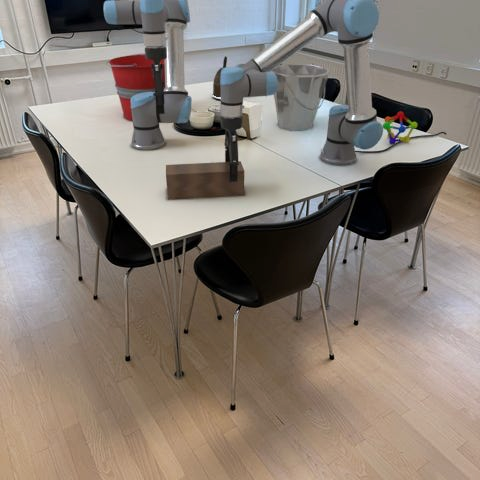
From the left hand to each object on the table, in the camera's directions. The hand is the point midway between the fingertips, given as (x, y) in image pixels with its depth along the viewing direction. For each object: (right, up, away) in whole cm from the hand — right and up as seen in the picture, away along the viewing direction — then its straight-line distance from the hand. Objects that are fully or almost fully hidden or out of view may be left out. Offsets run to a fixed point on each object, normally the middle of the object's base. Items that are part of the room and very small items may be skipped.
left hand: (160, 108), depth 164 cm
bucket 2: (+59, +12, +69) cm, 91 cm away
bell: (+21, +42, +117) cm, 126 cm away
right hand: (+26, -25, -2) cm, 36 cm away
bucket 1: (-23, +21, +83) cm, 89 cm away
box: (+17, -31, 0) cm, 35 cm away
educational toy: (+104, -3, +46) cm, 114 cm away
